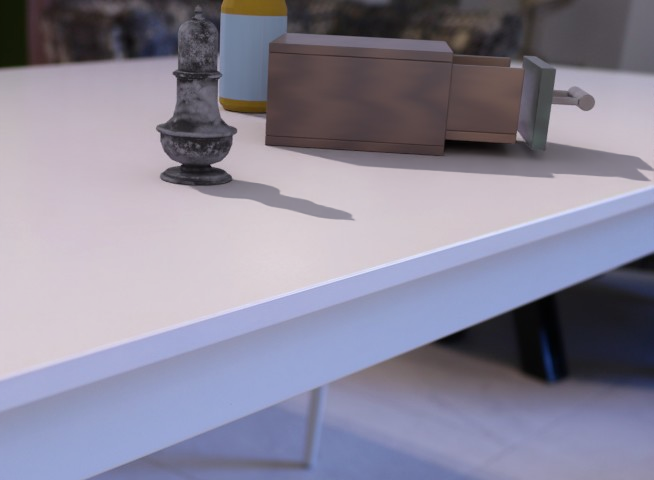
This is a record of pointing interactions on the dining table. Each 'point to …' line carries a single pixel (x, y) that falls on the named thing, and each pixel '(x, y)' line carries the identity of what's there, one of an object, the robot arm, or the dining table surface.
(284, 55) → the cabinet
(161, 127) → the salt shaker
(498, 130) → the drawer
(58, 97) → the dining table surface
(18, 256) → the dining table surface
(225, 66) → the bottle
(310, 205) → the dining table surface
